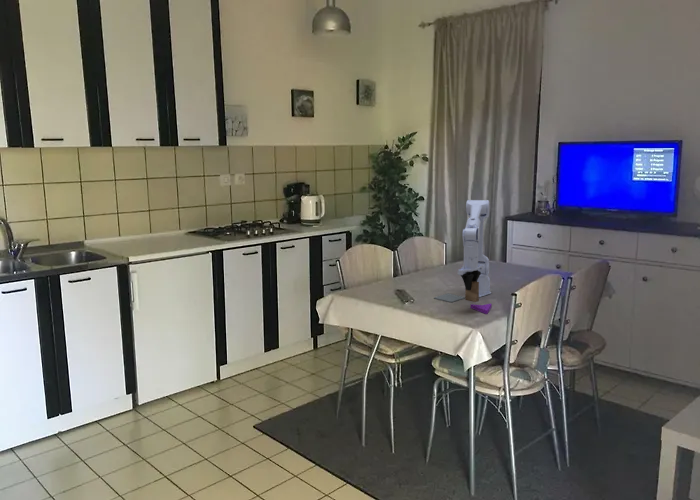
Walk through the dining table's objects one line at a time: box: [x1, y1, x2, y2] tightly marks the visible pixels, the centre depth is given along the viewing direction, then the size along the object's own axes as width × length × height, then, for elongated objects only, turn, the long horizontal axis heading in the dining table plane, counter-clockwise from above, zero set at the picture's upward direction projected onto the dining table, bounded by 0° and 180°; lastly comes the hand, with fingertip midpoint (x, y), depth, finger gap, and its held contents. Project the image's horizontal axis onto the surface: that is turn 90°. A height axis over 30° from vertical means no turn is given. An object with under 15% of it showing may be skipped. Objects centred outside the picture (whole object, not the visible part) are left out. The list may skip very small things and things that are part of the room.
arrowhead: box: [470, 303, 492, 315], centre depth 246 cm, size 10×2×10 cm
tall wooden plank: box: [464, 281, 480, 303], centre depth 242 cm, size 2×5×8 cm, turn 42°
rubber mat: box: [433, 293, 465, 303], centre depth 264 cm, size 10×10×1 cm
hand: (470, 289), depth 242 cm, fingers closed on tall wooden plank, 2 cm apart
